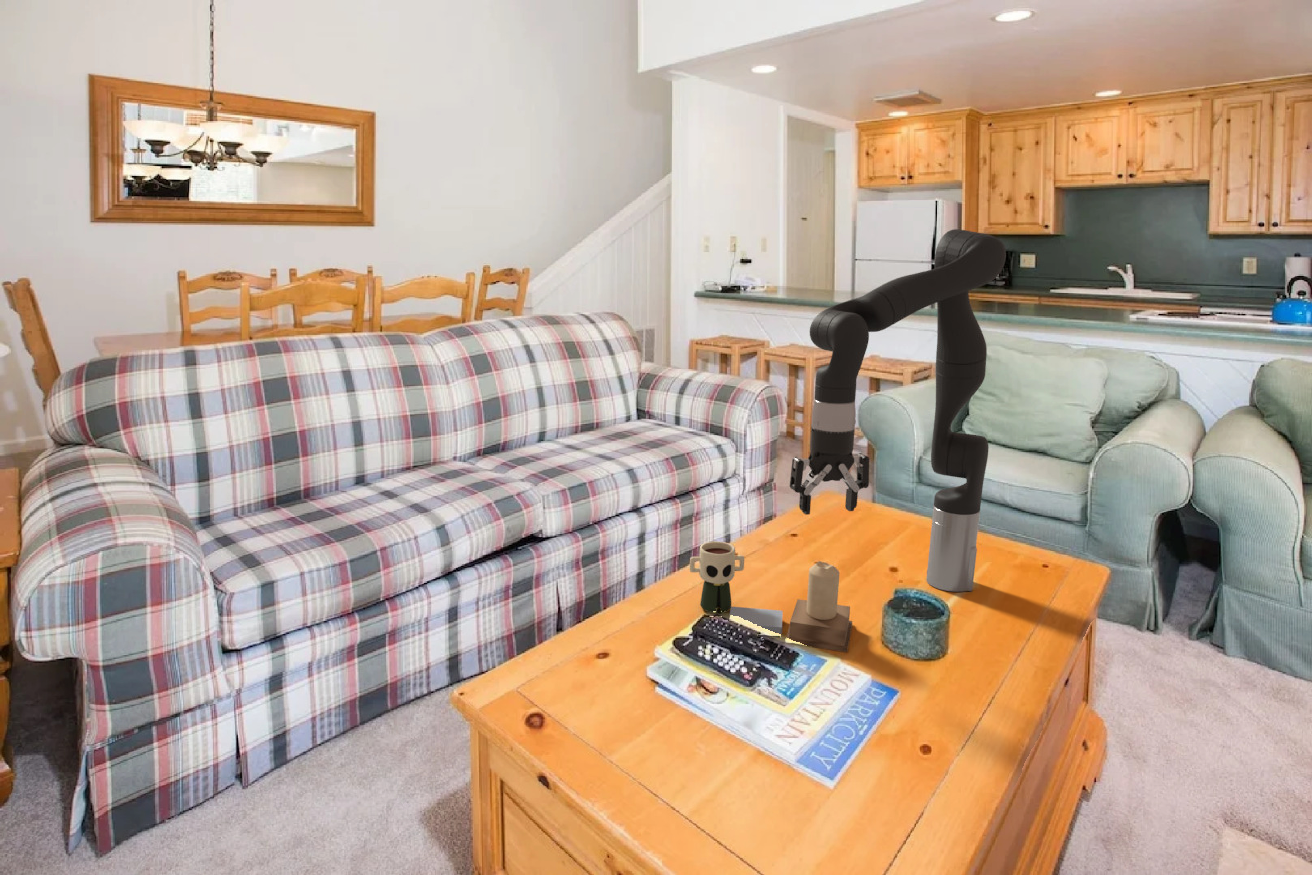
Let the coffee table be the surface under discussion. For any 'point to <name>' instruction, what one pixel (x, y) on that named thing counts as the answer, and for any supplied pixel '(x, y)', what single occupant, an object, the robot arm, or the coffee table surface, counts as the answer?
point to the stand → (820, 628)
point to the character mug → (716, 574)
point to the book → (760, 617)
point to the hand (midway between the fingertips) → (827, 511)
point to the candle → (822, 591)
